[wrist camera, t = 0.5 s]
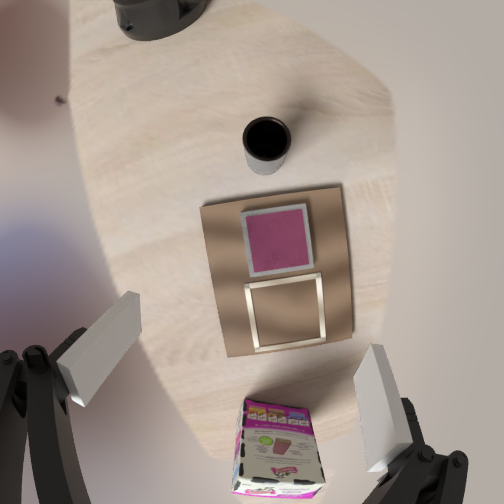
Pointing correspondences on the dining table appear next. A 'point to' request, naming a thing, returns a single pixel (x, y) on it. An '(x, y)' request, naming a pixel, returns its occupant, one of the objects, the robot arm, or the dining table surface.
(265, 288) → the walnut board
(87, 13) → the dining table surface
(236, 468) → the candy bar box
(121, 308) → the robot arm
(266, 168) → the gray cylinder
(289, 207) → the ink pad
